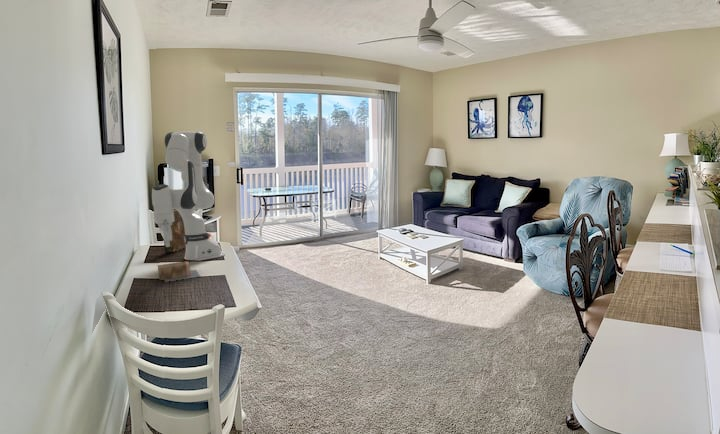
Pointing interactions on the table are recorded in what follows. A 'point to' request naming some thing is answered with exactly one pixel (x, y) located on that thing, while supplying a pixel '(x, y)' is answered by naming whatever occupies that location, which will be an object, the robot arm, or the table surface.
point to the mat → (192, 275)
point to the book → (176, 234)
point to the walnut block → (173, 270)
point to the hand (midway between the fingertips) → (167, 246)
